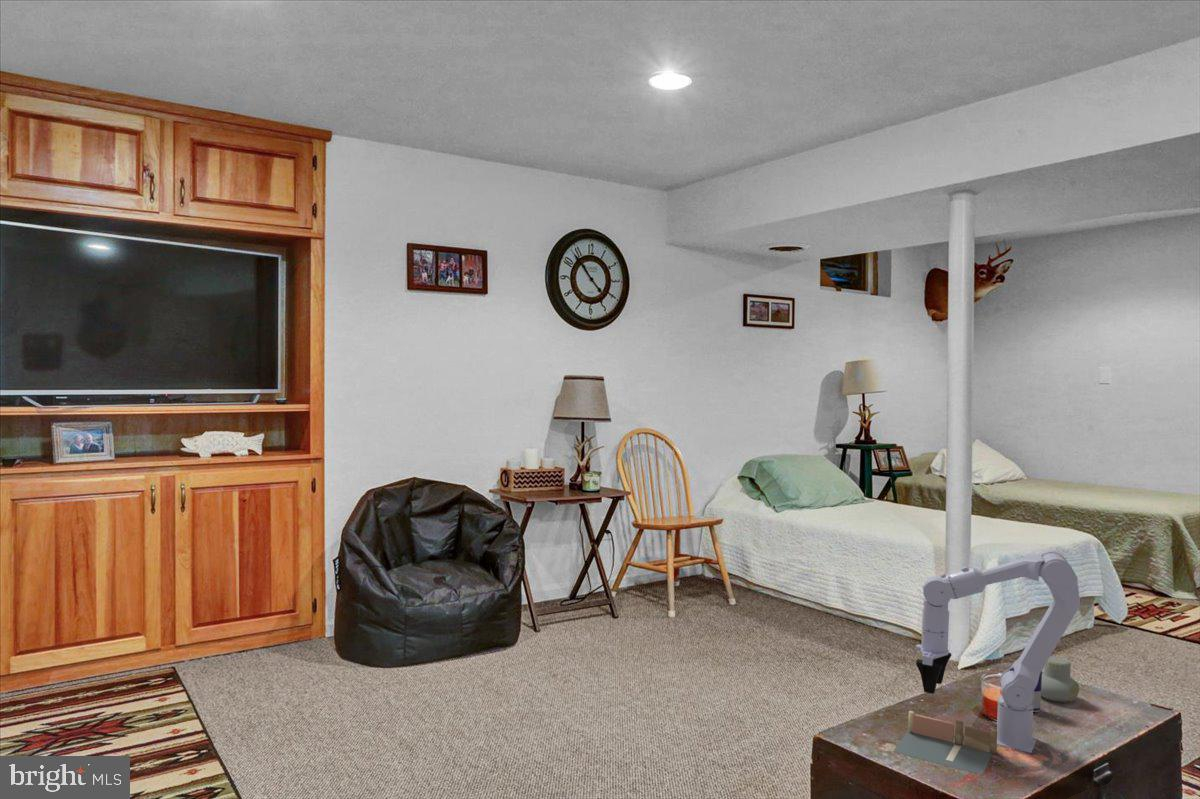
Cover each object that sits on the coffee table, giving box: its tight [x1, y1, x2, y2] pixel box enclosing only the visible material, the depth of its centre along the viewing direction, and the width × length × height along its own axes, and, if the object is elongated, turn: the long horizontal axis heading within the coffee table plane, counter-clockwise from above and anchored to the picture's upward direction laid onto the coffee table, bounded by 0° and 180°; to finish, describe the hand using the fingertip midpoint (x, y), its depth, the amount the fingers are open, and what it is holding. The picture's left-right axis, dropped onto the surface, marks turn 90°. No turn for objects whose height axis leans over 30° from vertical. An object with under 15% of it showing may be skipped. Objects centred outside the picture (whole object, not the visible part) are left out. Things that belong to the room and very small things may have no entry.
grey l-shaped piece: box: [1041, 656, 1080, 703], centre depth 219 cm, size 11×8×10 cm
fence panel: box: [907, 710, 955, 742], centre depth 192 cm, size 10×1×4 cm, turn 56°
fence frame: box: [954, 719, 998, 755], centre depth 186 cm, size 2×8×5 cm, turn 57°
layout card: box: [892, 730, 993, 776], centre depth 185 cm, size 15×18×1 cm
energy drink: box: [1033, 670, 1043, 712], centre depth 211 cm, size 5×5×12 cm
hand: (932, 687), depth 196 cm, fingers open, 7 cm apart
